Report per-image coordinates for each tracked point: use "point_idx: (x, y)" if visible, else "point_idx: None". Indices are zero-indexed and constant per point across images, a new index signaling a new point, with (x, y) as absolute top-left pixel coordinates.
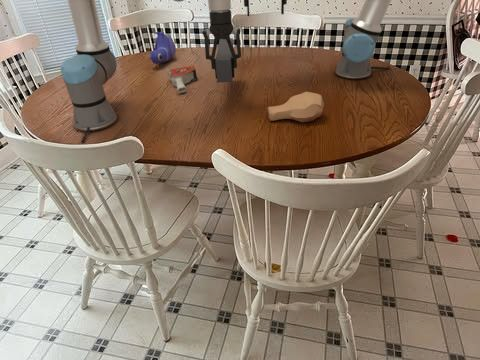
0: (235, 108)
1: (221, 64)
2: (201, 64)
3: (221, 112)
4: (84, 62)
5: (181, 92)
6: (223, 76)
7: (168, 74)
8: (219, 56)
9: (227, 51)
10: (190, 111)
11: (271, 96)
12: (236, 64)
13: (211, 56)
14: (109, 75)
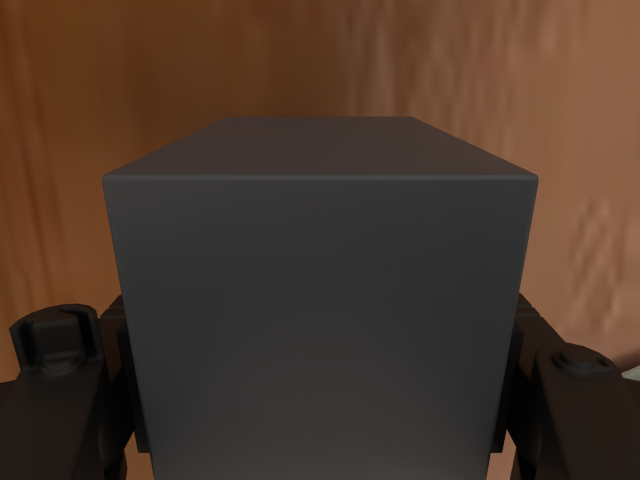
0: (253, 90)
1: (363, 152)
2: None
3: (358, 25)
4: None
5: (636, 369)
6: (331, 122)
7: None
8: (415, 460)
9: None
10: (596, 71)
11: (17, 267)
12: (106, 312)
13: (635, 409)
14: None
